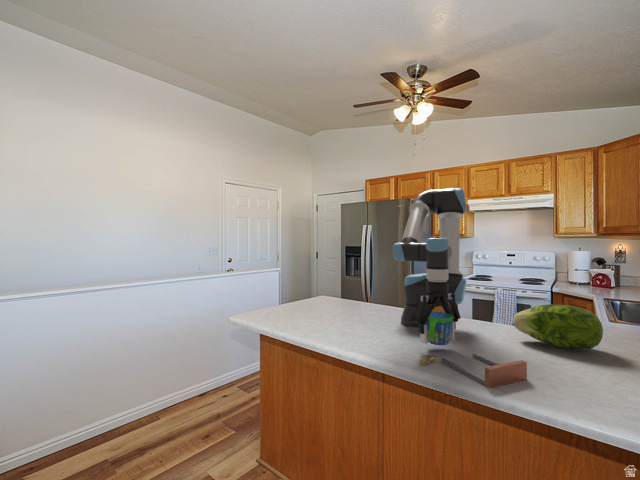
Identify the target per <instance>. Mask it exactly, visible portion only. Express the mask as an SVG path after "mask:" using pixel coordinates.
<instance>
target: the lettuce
mask: <svg viewBox="0 0 640 480" xmlns="http://www.w3.org/2000/svg"><path fill="white" fill-rule="evenodd" d="M512 322H513V325H514V326H513V327H514V328H515V329H517V330H518V331H519V332H522V333H523V334H524V335H525V334H526V335H528V336H529V337H531V338H533V339H535V340H538V341H539V342H542V343H545V344H548V345H552V346H555V347H559V348H562V349H568V350H569V349H570V350H591V349H593V348H595V347H597V346H599V344H600V343H601V341H602V339H603V336H604V335H603V334H604V329H603V325H602V321H601V320H600V319H599V317H598V316H597V315H596V314H594V313H593V312H592V311H590V310H589V309H585V308H582V307H578V306H573V305H567V304H566V305H565V304H540V305H536V306H532V307H530V308H527V309H524V310H522V311H519V312H517V313H516V314H514V317H513V320H512Z"/></svg>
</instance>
